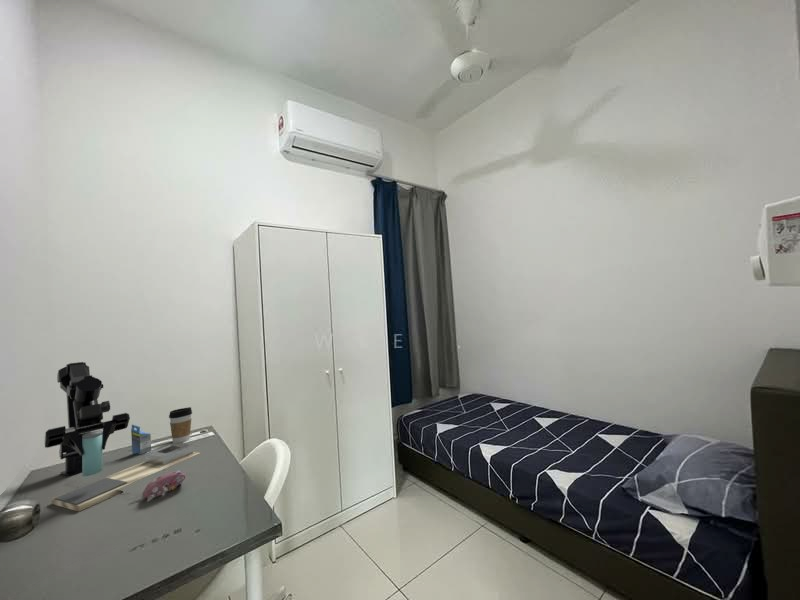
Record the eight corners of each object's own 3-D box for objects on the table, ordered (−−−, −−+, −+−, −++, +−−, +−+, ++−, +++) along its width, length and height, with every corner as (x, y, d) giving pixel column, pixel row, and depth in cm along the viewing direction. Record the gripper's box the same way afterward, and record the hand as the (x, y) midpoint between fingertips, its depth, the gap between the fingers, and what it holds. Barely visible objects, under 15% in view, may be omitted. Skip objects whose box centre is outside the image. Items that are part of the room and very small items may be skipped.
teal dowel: (86, 471, 95) (86, 432, 96) (104, 467, 97) (104, 429, 98) (79, 477, 91) (79, 436, 92) (99, 473, 93) (99, 433, 94)
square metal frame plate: (144, 462, 112) (144, 454, 113) (175, 450, 122) (175, 442, 123) (163, 465, 108) (163, 457, 109) (193, 452, 119) (193, 444, 119)
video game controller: (145, 507, 88) (148, 487, 87) (141, 495, 91) (143, 476, 89) (185, 490, 96) (188, 472, 94) (180, 480, 98) (183, 462, 97)
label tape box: (152, 454, 124) (151, 423, 125) (139, 458, 121) (139, 426, 122) (143, 451, 129) (142, 421, 130) (130, 454, 125) (130, 424, 126)
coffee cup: (184, 447, 130) (183, 411, 131) (164, 448, 130) (163, 412, 131) (197, 439, 138) (196, 405, 139) (178, 440, 138) (178, 407, 139)
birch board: (51, 503, 91) (51, 498, 91) (175, 453, 123) (174, 449, 123) (79, 511, 85) (79, 506, 85) (200, 456, 118) (200, 452, 118)
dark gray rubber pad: (54, 499, 90) (54, 497, 90) (105, 478, 101) (105, 477, 101) (76, 505, 86) (76, 503, 86) (127, 483, 97) (127, 481, 97)
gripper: (45, 402, 91) (49, 447, 83) (128, 388, 106) (137, 426, 98) (43, 425, 95) (46, 470, 88) (122, 409, 110) (131, 446, 102)
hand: (93, 451), depth 94 cm, fingers closed on teal dowel, 4 cm apart
